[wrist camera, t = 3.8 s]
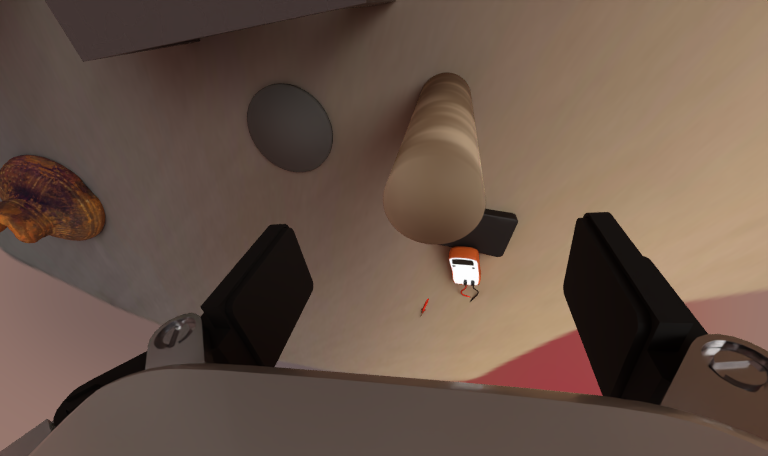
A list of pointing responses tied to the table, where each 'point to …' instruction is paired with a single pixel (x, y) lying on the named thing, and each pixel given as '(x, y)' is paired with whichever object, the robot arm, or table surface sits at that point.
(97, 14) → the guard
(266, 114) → the coaster
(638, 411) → the robot arm
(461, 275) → the multimeter
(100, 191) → the table surface
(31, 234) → the brown rounded piece
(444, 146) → the dowel
